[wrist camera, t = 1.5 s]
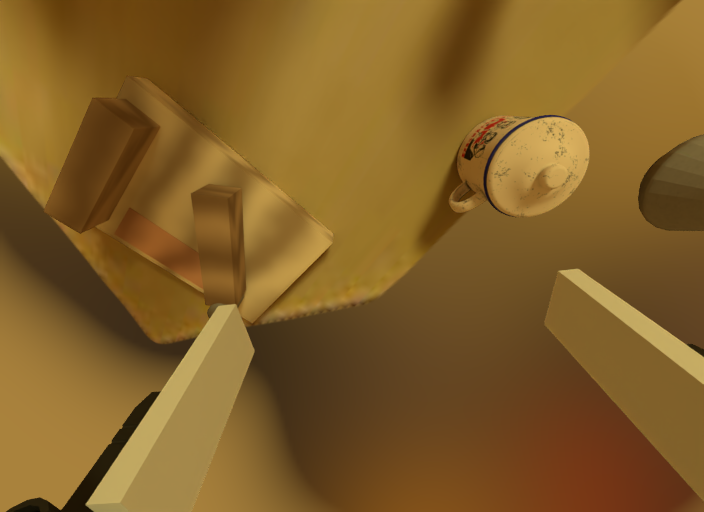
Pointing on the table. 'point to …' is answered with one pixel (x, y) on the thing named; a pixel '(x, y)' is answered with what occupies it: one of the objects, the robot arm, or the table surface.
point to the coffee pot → (676, 188)
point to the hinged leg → (220, 244)
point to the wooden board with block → (177, 193)
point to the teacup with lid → (521, 164)
